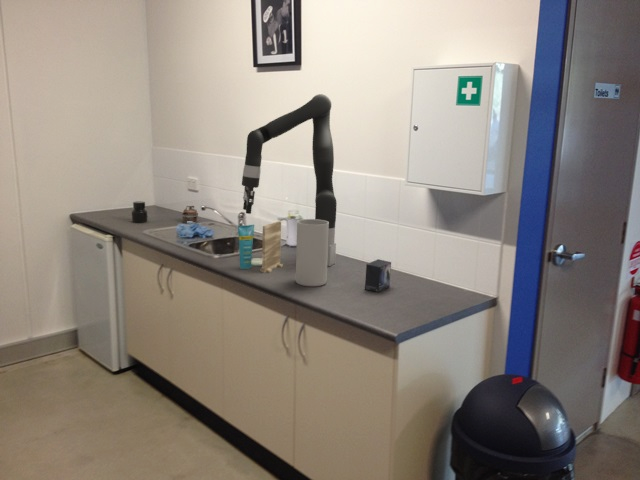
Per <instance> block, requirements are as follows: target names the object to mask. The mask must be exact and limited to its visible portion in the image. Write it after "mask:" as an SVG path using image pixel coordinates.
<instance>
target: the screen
mask: <svg viewBox="0 0 640 480" xmlns="http://www.w3.org/2000/svg"><path fill="white" fill-rule="evenodd" d="M281 242H282V221H279V220H278V221H276V222H272V223H269V224H266V225H262V246H261V247H262V251H261V253H262V257H261V258H262V266H261V267H260V268H259V272H262V273H264V274H265V273H269V274H270V273H272V272H273V271H272V270H273V269H276V268H283V267H284V264H283V263H281V254H282V253H281V251H282V249H281V246H282V245H281V244H282V243H281Z"/></svg>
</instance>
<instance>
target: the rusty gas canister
mask: <svg viewBox="0 0 640 480" xmlns="http://www.w3.org/2000/svg"><path fill="white" fill-rule="evenodd" d="M198 216H199V213H198V211H197V209H196V207H195V206H194V205H187V206H186V205H185V208H184V209H183V211H182V214H181V218H182V221H183V223H184V224H187V223H186V222H187V221H193V222H196V223H197V222H198Z"/></svg>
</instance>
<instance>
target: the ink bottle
mask: <svg viewBox="0 0 640 480" xmlns="http://www.w3.org/2000/svg"><path fill="white" fill-rule="evenodd" d="M132 205H133V210H132V211H131V222H132V223H134V222H135V223H136V224H142V223H143V224H144V223H147V222H148V211H147V209H146V202H145V201H141V200H140V201H139V200H138V201H133V202H132ZM135 223H134V224H135Z"/></svg>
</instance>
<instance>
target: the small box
mask: <svg viewBox="0 0 640 480" xmlns="http://www.w3.org/2000/svg"><path fill="white" fill-rule="evenodd" d="M391 269H392V262H391V261H388V260H384V259H375V260H373V261H371V262H369V263H366V266H365V281H364V282H365V283H364V290H366V291H371V292H376V293H379V292H381V291H383V290H385V289H387V288H389V287H390V286H391V285H390V283H391V282H390V281H391ZM388 286H389V287H388ZM386 287H387V288H386Z"/></svg>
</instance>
